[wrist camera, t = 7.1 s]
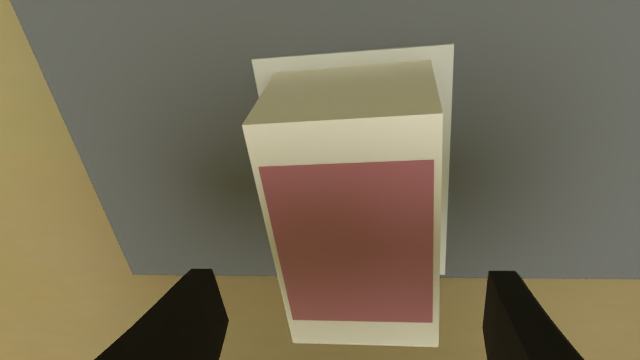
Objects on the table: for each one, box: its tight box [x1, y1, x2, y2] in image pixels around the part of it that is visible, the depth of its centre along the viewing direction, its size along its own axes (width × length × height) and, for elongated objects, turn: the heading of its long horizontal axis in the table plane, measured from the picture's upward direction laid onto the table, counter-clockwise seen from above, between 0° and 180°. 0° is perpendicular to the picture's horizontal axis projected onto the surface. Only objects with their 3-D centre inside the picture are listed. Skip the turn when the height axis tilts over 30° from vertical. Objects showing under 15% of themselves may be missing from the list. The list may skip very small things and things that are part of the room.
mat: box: [10, 0, 640, 279], centre depth 15 cm, size 18×22×1 cm
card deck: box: [242, 60, 443, 347], centre depth 15 cm, size 5×8×4 cm, turn 7°
